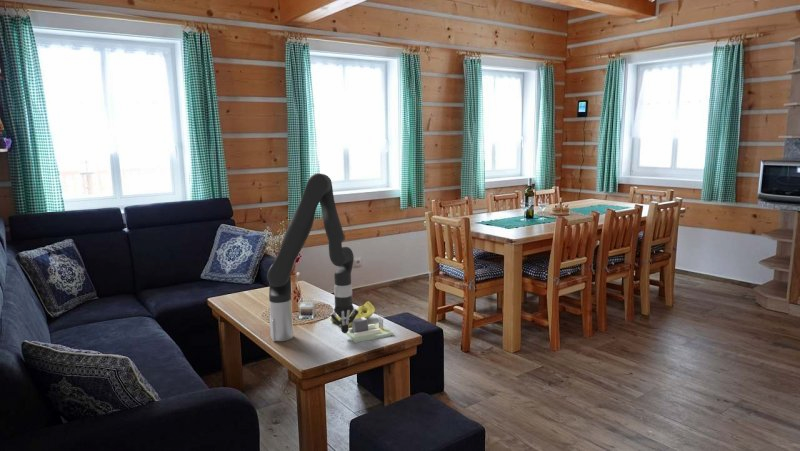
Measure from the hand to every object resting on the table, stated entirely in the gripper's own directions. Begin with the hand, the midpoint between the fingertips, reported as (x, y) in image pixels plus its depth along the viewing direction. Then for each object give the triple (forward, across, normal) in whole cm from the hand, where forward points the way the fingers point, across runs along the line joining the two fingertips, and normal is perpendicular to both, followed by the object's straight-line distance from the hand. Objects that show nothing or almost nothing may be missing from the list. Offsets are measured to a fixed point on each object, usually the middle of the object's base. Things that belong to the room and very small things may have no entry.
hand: (344, 332), depth 235 cm
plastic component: (+3, -11, -18) cm, 21 cm away
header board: (+3, -11, 0) cm, 11 cm away
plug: (+2, -7, 0) cm, 7 cm away
